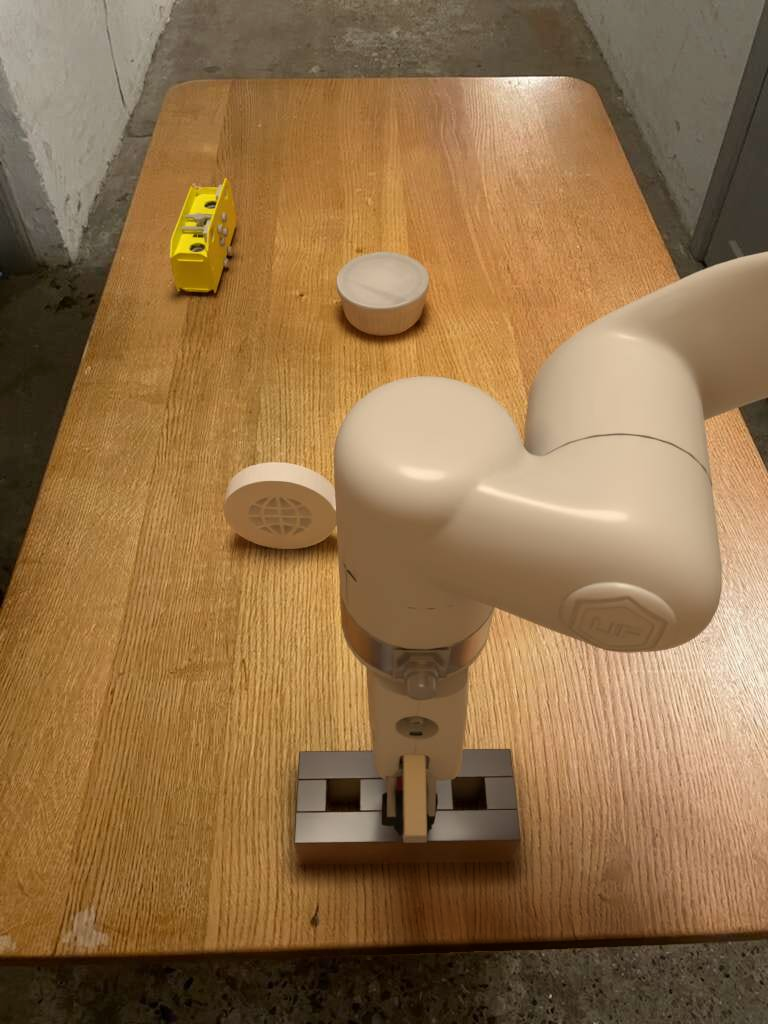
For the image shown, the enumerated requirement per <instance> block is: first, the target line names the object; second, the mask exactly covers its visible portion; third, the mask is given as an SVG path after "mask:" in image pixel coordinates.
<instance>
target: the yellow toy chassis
mask: <svg viewBox="0 0 768 1024" xmlns="http://www.w3.org/2000/svg"><path fill="white" fill-rule="evenodd" d="M232 189H233V188H232V183H231V180H229V179H228V178H227V177H225V178H224V180H223V182H222V184H218V187H209V186H208V187H207V186H201V187H200V188H199V189H198V188H197V187H196V186H192V185H191V186H190V187H189V190H188V193H187V195H186V198H185V201H184V203H183V206H182V209H181V212H180V213H179V216H178V219H177V222H176V225H175V228H174V230H173V232H172V235H171V238H170V247H169V262H170V265H171V272H172V276H173V279H174V284H175V288H176V292H180V290H183V291H185V292H190V293H193V292H194V293H209V292H212V290H213V293H214V294H216V293H217V290H218V286H219V283H220V280H221V277H222V273H223V269H224V268H225V269H226V268H227V269H229V267H230V260H229V258H227V256H228V257H229V256H233V247H232V246H231V243H232V239H233V236H234V233H235V229H236V226H237V216H236V207H235V203H234V196H233V195H234V194H233V190H232ZM203 222H204V223H203ZM197 235H198V237H199V238H198V237H197Z"/></svg>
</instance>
